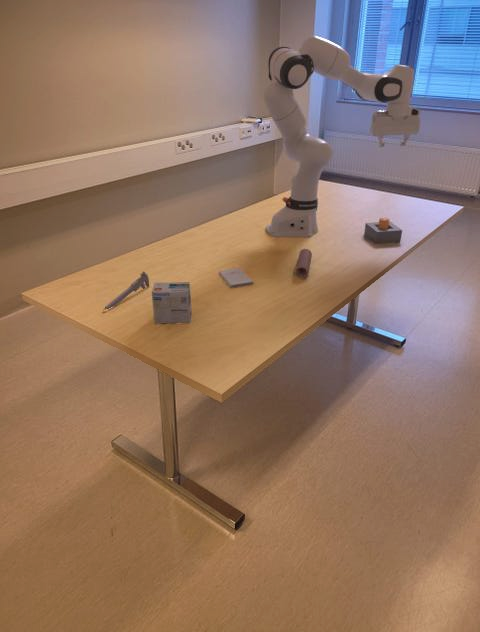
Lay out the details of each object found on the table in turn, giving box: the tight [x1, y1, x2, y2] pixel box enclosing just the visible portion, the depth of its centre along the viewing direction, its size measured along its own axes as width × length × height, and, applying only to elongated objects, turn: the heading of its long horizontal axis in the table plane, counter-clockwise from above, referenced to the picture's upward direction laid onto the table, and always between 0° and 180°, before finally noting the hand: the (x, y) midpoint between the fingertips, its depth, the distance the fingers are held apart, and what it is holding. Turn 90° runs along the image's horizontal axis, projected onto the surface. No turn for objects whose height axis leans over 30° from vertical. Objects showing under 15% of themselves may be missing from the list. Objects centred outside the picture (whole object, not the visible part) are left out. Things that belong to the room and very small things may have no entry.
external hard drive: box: [218, 267, 254, 289], centre depth 175 cm, size 2×8×12 cm
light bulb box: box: [151, 281, 192, 324], centre depth 147 cm, size 11×7×11 cm, turn 92°
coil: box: [294, 248, 313, 280], centre depth 182 cm, size 5×5×18 cm
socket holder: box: [364, 220, 403, 245], centre depth 209 cm, size 11×11×5 cm
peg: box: [378, 217, 390, 229], centre depth 208 cm, size 4×4×8 cm
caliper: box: [104, 271, 150, 309], centre depth 159 cm, size 21×1×6 cm, turn 149°
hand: (392, 146), depth 207 cm, fingers open, 8 cm apart
